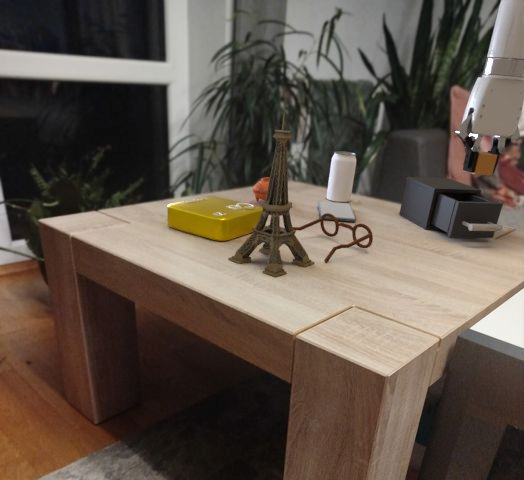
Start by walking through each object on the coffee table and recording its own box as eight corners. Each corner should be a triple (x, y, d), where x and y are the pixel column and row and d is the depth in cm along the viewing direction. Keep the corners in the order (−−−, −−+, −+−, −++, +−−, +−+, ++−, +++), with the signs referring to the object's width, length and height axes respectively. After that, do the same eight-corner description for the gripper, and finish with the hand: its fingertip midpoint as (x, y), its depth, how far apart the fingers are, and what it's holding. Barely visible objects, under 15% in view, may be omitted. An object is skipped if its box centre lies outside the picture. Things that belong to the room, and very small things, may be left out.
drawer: (504, 243, 105) (515, 208, 101) (460, 243, 102) (470, 207, 99) (461, 222, 119) (469, 191, 115) (421, 221, 117) (429, 189, 113)
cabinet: (470, 230, 117) (481, 190, 112) (425, 229, 114) (434, 188, 110) (440, 215, 128) (449, 178, 124) (399, 214, 126) (406, 176, 121)
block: (480, 171, 106) (485, 151, 104) (492, 175, 102) (497, 154, 100) (463, 171, 105) (468, 151, 103) (474, 174, 101) (480, 154, 100)
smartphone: (320, 215, 114) (318, 200, 127) (319, 220, 115) (317, 204, 128) (356, 219, 114) (350, 203, 127) (355, 223, 115) (350, 207, 128)
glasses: (371, 252, 96) (376, 226, 93) (325, 263, 88) (329, 235, 85) (321, 234, 104) (324, 210, 102) (275, 243, 96) (277, 217, 94)
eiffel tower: (268, 248, 93) (280, 98, 81) (314, 263, 87) (334, 104, 75) (228, 259, 86) (235, 96, 74) (275, 277, 80) (291, 103, 68)
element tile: (210, 214, 112) (211, 192, 110) (266, 228, 105) (268, 205, 103) (163, 226, 101) (162, 202, 98) (221, 243, 94) (222, 217, 91)
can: (351, 203, 133) (359, 155, 127) (327, 201, 132) (333, 153, 127) (348, 198, 138) (355, 152, 133) (325, 196, 138) (331, 150, 132)
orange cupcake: (289, 206, 123) (286, 178, 120) (259, 213, 123) (255, 185, 119) (281, 197, 130) (277, 171, 126) (252, 204, 129) (247, 177, 125)
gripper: (529, 73, 100) (501, 169, 109) (454, 67, 96) (432, 167, 105) (556, 74, 93) (524, 176, 102) (477, 67, 90) (452, 174, 98)
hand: (478, 170), depth 103 cm, fingers closed on block, 4 cm apart
